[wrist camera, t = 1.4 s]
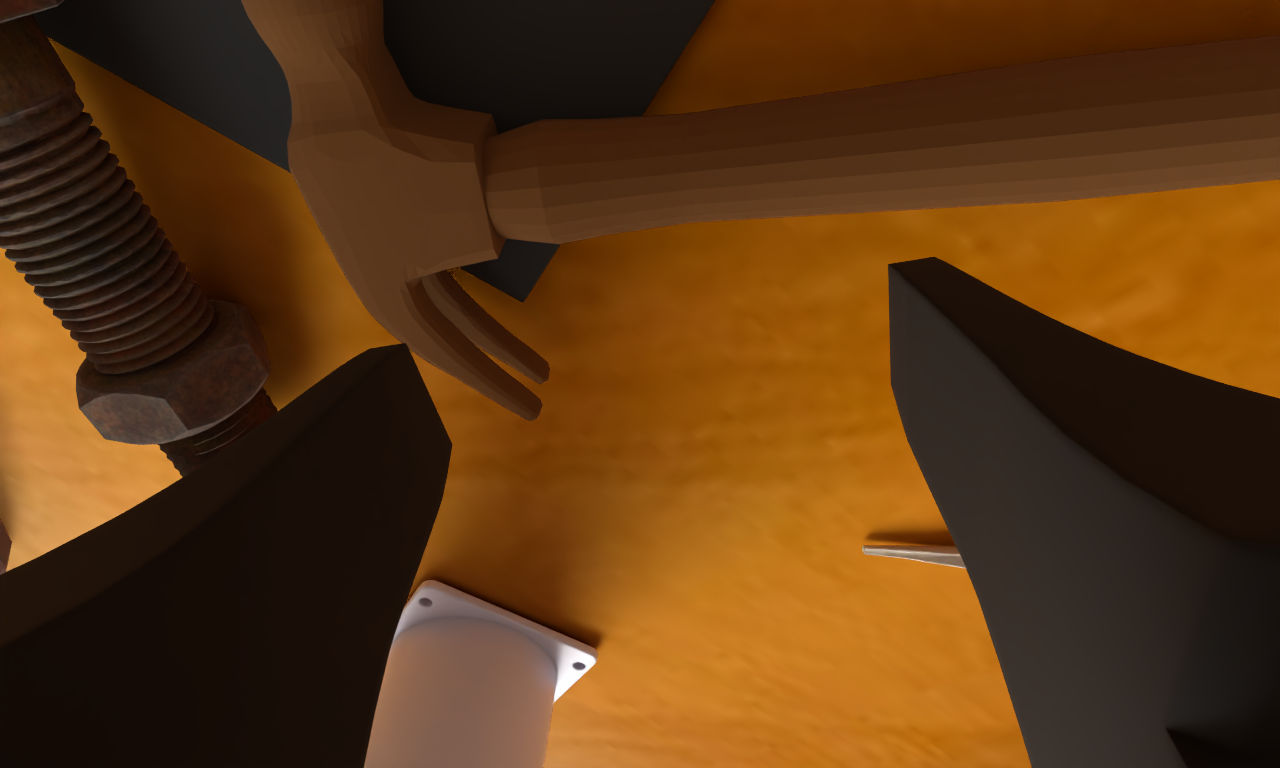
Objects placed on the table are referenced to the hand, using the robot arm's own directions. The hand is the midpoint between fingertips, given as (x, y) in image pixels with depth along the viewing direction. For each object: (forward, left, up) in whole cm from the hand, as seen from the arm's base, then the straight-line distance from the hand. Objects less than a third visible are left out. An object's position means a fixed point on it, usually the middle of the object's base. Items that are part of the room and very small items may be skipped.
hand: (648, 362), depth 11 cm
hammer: (+4, -5, -10) cm, 12 cm away
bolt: (-10, +11, -10) cm, 17 cm away
